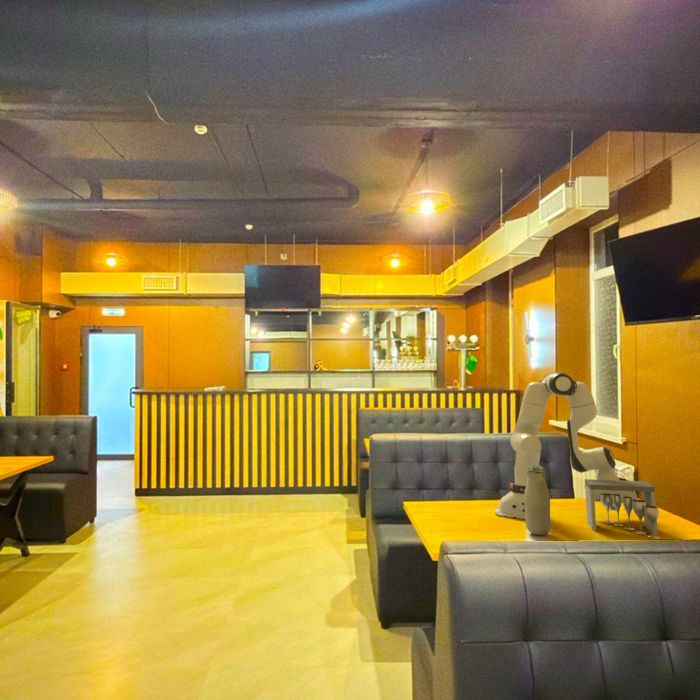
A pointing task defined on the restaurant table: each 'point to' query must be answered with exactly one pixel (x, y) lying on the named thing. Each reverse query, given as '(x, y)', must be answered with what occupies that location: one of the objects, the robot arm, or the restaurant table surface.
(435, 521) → the restaurant table surface
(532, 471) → the grey bottle
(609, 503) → the goblet set
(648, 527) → the low table
